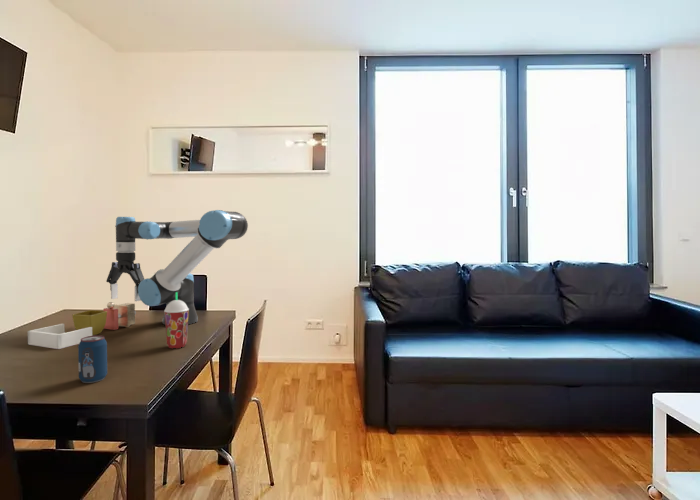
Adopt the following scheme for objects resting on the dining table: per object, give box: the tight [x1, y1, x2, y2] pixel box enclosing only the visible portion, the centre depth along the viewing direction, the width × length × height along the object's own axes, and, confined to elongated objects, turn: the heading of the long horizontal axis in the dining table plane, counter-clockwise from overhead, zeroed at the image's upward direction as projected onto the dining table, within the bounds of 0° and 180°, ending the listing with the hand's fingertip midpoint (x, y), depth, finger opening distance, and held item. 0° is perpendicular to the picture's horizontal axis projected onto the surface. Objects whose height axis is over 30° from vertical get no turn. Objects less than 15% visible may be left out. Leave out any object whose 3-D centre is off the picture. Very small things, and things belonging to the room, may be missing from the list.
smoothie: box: [163, 292, 189, 349], centre depth 151 cm, size 8×8×20 cm
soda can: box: [77, 334, 108, 384], centre depth 117 cm, size 7×7×12 cm
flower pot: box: [71, 309, 107, 336], centre depth 166 cm, size 9×9×9 cm
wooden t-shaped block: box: [102, 301, 137, 331], centre depth 180 cm, size 9×13×11 cm
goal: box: [27, 323, 92, 350], centre depth 155 cm, size 16×13×5 cm
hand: (126, 299), depth 182 cm, fingers open, 13 cm apart
